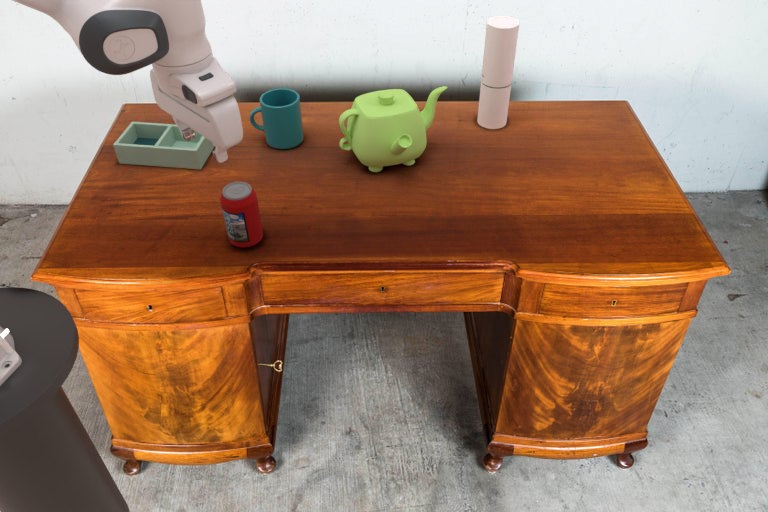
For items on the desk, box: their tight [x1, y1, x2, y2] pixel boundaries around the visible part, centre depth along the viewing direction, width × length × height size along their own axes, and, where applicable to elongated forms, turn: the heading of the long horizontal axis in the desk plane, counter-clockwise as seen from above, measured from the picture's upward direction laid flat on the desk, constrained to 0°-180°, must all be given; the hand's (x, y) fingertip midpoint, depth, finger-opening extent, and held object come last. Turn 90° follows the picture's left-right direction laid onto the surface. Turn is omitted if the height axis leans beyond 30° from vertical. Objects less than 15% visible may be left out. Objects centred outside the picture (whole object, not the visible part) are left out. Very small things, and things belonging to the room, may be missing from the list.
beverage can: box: [219, 181, 264, 248], centre depth 125 cm, size 7×7×12 cm
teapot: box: [338, 85, 448, 173], centre depth 144 cm, size 25×22×16 cm
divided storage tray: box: [112, 121, 215, 170], centre depth 150 cm, size 10×19×5 cm, turn 82°
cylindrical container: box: [476, 14, 520, 130], centre depth 153 cm, size 7×7×25 cm
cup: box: [249, 87, 305, 150], centre depth 152 cm, size 9×12×11 cm
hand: (204, 148), depth 108 cm, fingers open, 8 cm apart
